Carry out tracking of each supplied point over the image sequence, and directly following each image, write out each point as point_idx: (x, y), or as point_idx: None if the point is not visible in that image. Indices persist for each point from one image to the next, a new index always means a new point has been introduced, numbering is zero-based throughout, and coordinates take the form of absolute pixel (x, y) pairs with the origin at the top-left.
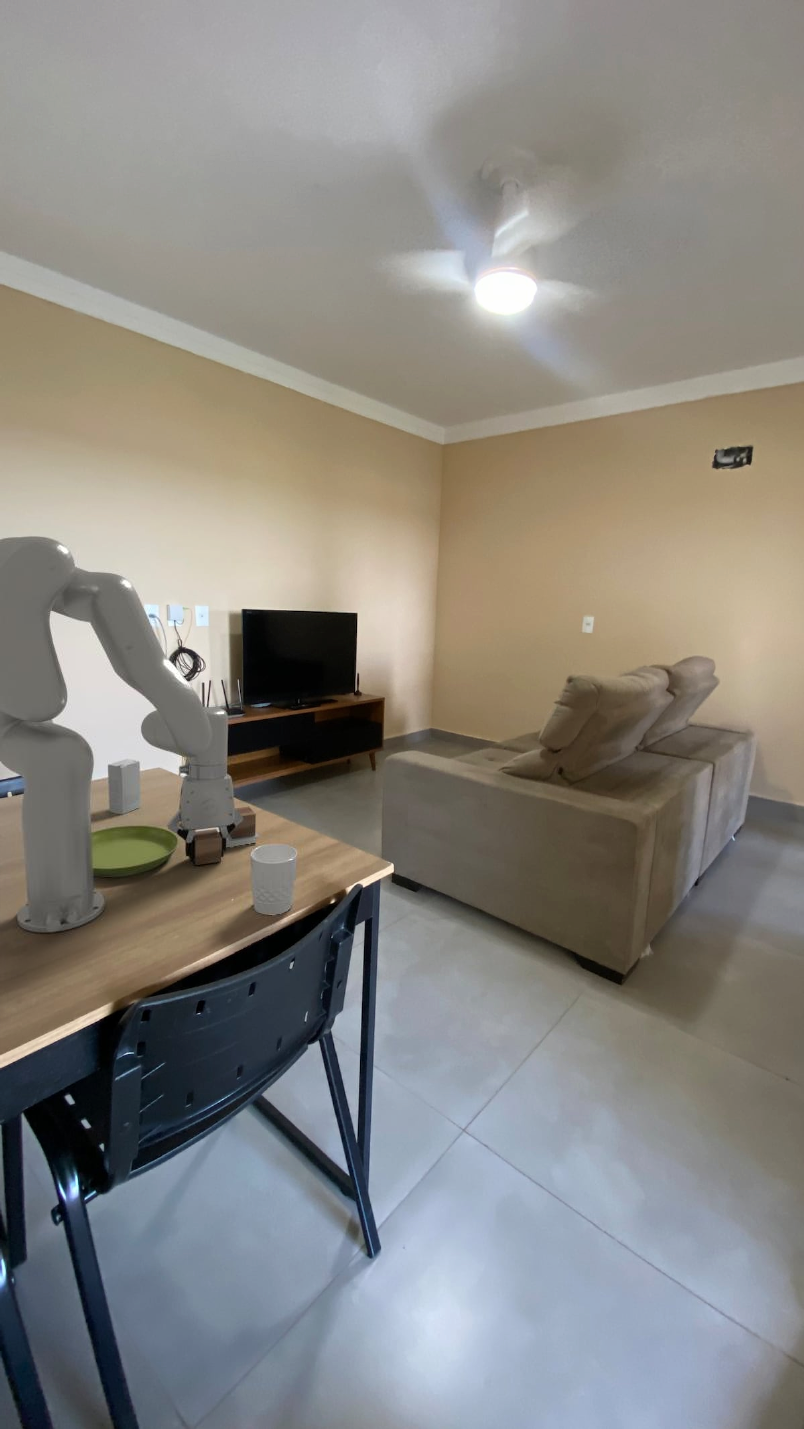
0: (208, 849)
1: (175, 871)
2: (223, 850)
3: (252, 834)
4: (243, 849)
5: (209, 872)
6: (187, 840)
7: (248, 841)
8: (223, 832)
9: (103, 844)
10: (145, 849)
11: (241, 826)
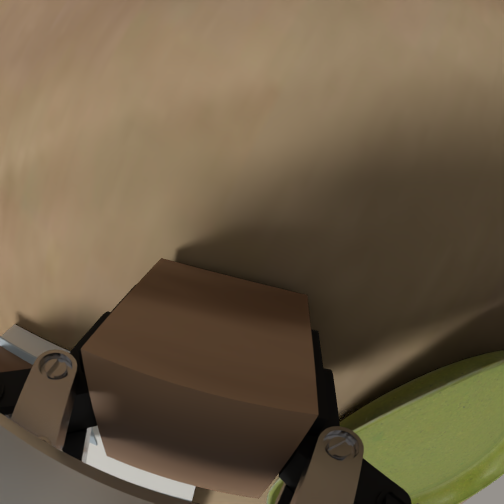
0: (217, 329)
1: (399, 305)
2: (120, 302)
3: (3, 354)
4: (51, 314)
5: (271, 187)
6: (347, 446)
7: (26, 341)
8: (55, 390)
9: None
10: None
11: None
